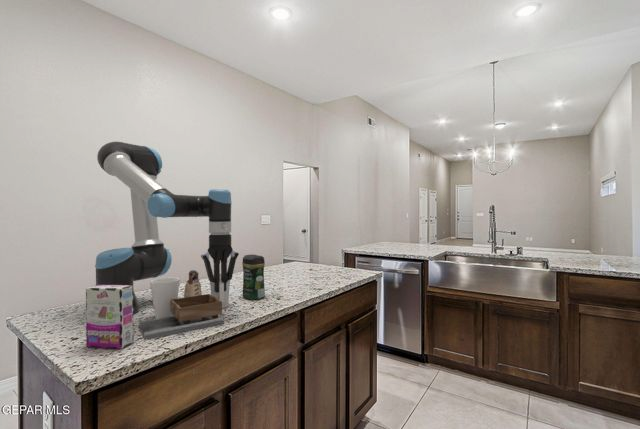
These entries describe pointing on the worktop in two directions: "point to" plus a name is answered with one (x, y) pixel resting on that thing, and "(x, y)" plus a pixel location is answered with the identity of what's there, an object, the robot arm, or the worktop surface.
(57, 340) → the worktop surface
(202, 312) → the open wooden crate
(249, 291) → the coffee jar
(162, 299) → the foam cup
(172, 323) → the grey metal tray
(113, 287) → the candy bar box
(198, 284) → the figurine
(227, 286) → the cup
